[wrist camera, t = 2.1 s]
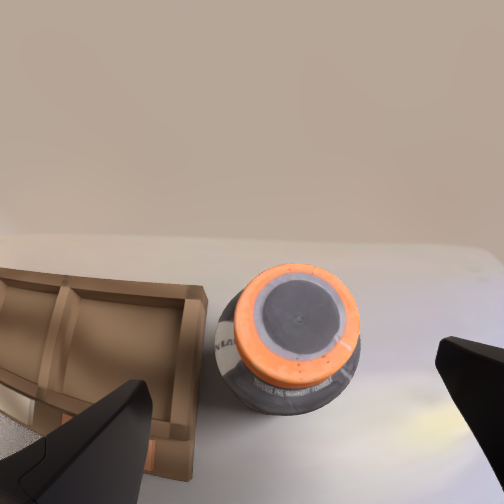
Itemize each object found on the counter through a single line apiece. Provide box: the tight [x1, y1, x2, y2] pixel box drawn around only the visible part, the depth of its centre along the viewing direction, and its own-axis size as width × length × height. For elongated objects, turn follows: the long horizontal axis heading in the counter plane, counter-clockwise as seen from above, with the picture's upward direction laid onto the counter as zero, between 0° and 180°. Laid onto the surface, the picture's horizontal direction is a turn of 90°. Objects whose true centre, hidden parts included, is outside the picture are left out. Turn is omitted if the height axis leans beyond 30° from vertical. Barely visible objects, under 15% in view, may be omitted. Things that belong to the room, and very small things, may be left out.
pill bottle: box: [215, 263, 361, 416], centre depth 13 cm, size 6×6×11 cm
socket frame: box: [0, 268, 208, 482], centre depth 17 cm, size 13×22×2 cm, turn 87°
